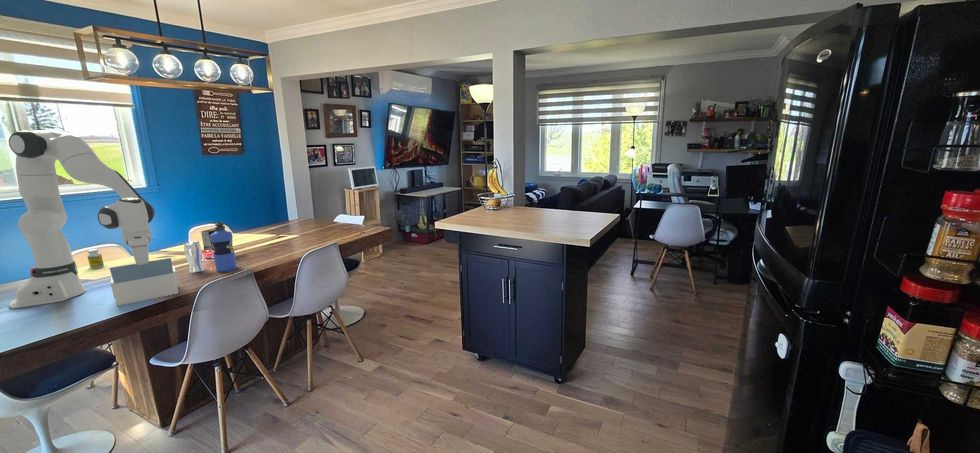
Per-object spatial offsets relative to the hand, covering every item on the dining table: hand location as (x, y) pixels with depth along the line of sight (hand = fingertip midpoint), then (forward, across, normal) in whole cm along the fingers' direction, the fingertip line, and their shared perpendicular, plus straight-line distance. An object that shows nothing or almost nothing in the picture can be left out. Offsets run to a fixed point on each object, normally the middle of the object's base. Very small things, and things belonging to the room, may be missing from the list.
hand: (143, 269), depth 167 cm
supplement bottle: (+17, -81, -18) cm, 85 cm away
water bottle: (+14, -26, +32) cm, 44 cm away
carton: (+14, -8, 0) cm, 16 cm away
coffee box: (+15, -58, +33) cm, 68 cm away
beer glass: (+14, -34, +20) cm, 42 cm away
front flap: (0, +1, 0) cm, 1 cm away
